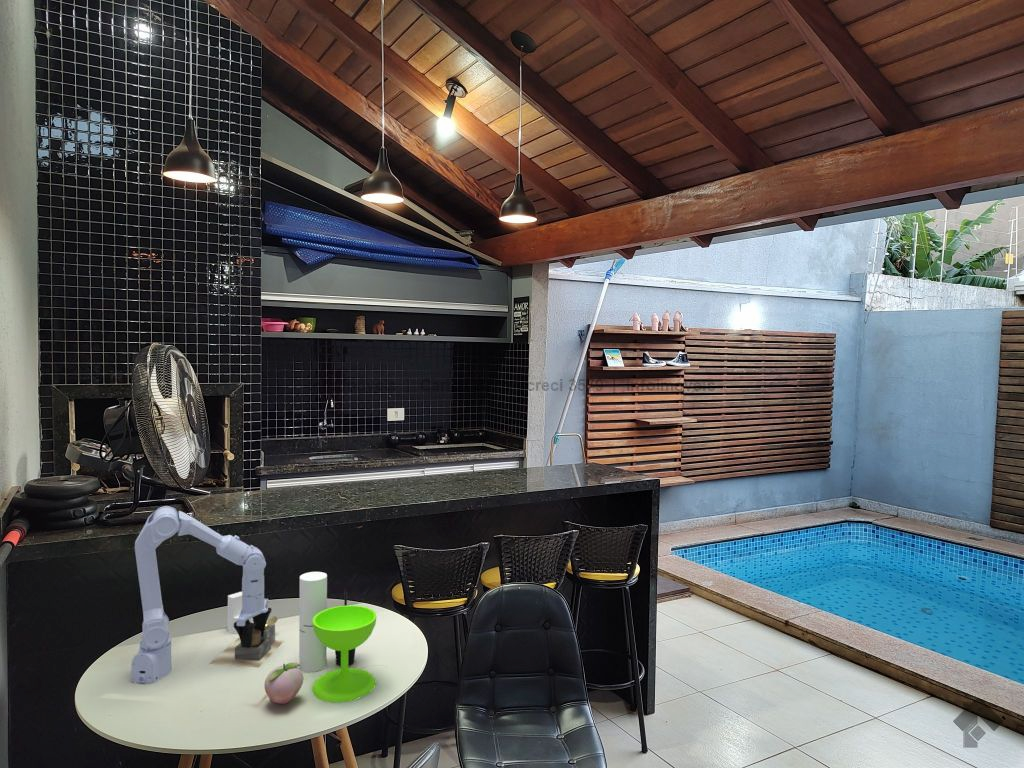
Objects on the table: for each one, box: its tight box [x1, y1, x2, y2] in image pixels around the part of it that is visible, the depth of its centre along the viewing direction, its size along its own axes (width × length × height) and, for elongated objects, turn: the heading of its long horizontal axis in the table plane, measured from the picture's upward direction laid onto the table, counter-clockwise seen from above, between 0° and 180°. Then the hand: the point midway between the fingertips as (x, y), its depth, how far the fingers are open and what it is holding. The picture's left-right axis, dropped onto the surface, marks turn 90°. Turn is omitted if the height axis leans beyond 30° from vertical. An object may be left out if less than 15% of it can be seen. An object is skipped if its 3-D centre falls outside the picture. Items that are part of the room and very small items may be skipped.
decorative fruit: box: [263, 662, 305, 705], centre depth 161 cm, size 9×8×10 cm
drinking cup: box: [334, 590, 356, 667], centre depth 182 cm, size 8×8×20 cm
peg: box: [251, 630, 261, 647], centre depth 183 cm, size 4×4×6 cm
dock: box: [208, 623, 285, 668], centre depth 184 cm, size 16×14×6 cm
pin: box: [265, 616, 278, 630], centre depth 192 cm, size 9×2×2 cm, turn 175°
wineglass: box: [311, 604, 377, 703], centre depth 169 cm, size 16×16×18 cm
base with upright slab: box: [226, 591, 254, 635], centre depth 200 cm, size 9×9×12 cm
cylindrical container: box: [298, 571, 328, 673], centre depth 179 cm, size 7×7×25 cm
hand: (253, 640), depth 183 cm, fingers open, 7 cm apart
